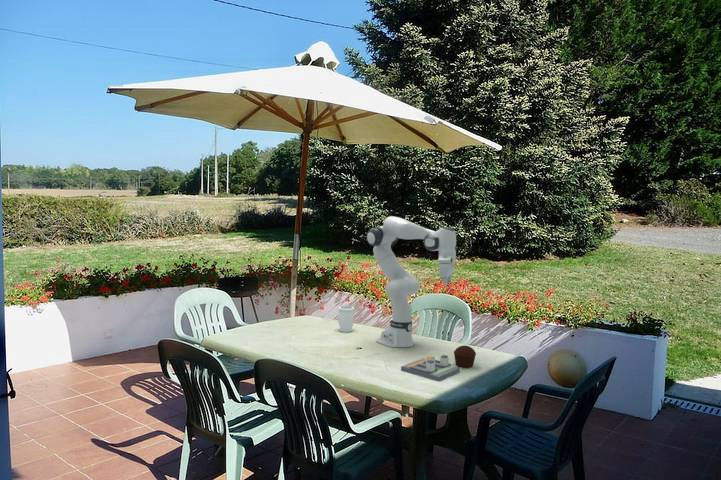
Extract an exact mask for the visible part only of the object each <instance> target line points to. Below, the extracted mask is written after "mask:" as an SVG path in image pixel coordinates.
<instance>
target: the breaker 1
mask: <svg viewBox="0 0 721 480" xmlns="http://www.w3.org/2000/svg"><path fill="white" fill-rule="evenodd" d="M426 371H429V372H432V371H435V362H434V361H432V360H429V361H427V362H426Z"/></svg>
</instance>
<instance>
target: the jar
mask: <svg viewBox="0 0 721 480" xmlns="http://www.w3.org/2000/svg"><path fill="white" fill-rule="evenodd" d="M337 309H338V314H337V315H338V316H337V320H338V326H339V331H340V332H343V333H350V332H352V331H353V326H354V322H355V311H354V310H355V307H354V306H350V305H342V306H339V307H338V308H337Z"/></svg>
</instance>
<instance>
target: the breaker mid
mask: <svg viewBox="0 0 721 480" xmlns="http://www.w3.org/2000/svg"><path fill="white" fill-rule="evenodd" d="M425 359H426V362H427V361H429V360H432V361H434V362H435V360H436V357H435V356H432V355H428V356H427V357H426V358H425Z"/></svg>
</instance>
